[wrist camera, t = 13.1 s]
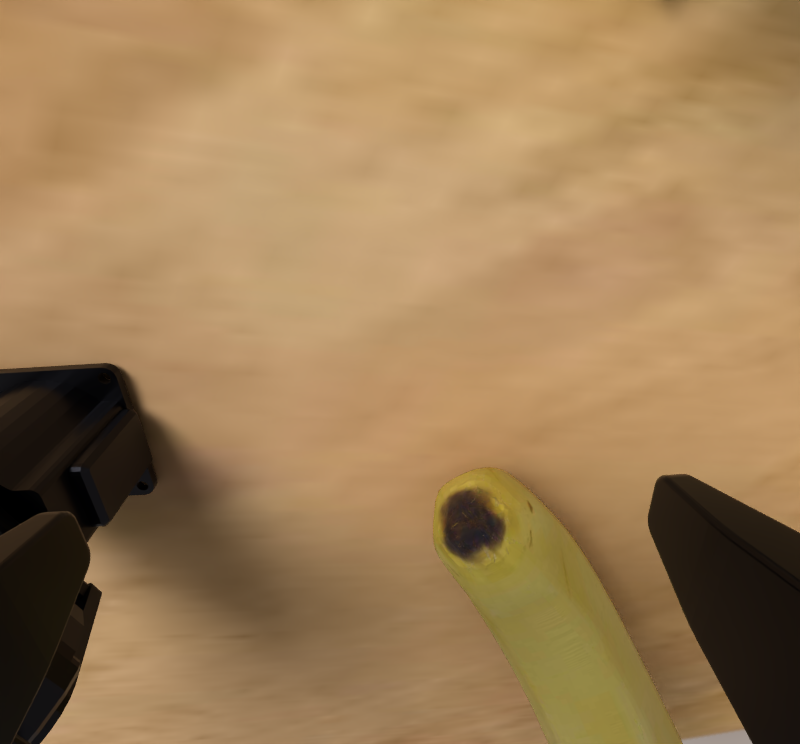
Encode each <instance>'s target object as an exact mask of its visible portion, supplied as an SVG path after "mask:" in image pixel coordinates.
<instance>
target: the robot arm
mask: <svg viewBox="0 0 800 744" xmlns="http://www.w3.org/2000/svg"><path fill="white" fill-rule="evenodd" d="M103 373H106V374H108V375H109V376H110V378H111V380H110V379H107V378H105V377H104V375H103ZM151 461H152V455H151V452H150V449H149V446H148V443H147V440H146V437H145V434H144V431H143V428H142V425H141V422H140V419H139V416H138V414H137V413H136V412H135V411H134V409H133V406H132V403H131V401H130V398H129V395H128V392H127V389H126V386H125V383H124V380H123V377H122V374H121V372H120V370H119V369H118V368H117V367H116V366H114V365H112V364H108V363H101V364H84V365H68V366H51V367H34V368H17V369H0V744H40V743H41V742H42V740H43V739H44V738H45V737H46V735H47V734H48V733H49V732H50V730H51V729H52V727H53V726H54V724H55V723H56V722H57V720H58V719H59V717H60V716H61V714H62V712H63V711H64V709H65V707H66V705H67V703H68V701H69V700H70V698H71V695H72V693H73V690H74V687H75V685H76V682H77V678H78V675H79V671H80V668H81V664H82V661H83V657H84V654H85V650H86V647H87V644H88V640H89V637H90V633H91V630H92V626H93V623H94V619H95V616H96V612H97V609H98V605H99V602H100V599H101V595H102V592H101V591H100V590H99V589H97V588H96V587H95V586H94V585H93V584H92V583H89V584H87V583H86V582H85V581H84V578H85V575H86V573H87V570H88V567H89V564H90V549H89V547H88V544H87V542H88V541H89V539H90V538H91V536H92V535H93V533H94V532H95V531H96V529H97V528H98V527H102V526H106V525H108V524H109V522H110V521H111V520H112V519H113V517H114V516H115V514H116V513H117V511H118V510H119V508H120V507H121V505H122V504H123V502H124V501H125V500H126V498H127V497H128V496H129V495H145V494H150V493H151V492H152V491H153V490H154V488H155V487H156V485H157V478H156V475H155V472H154V469H153V466H152V463H151ZM141 481H142V482H145V483H147V484H148V485H146V484H143V483H142V482H141ZM648 526H649V530H650V533H651V535H652V538H653V540H654V543H655V545H656V547H657V550H658V552H659V555H660V557H661V559H662V562H663V564H664V567H665V569H666V571H667V574H668V576H669V579H670V581H671V583H672V586H673V588H674V591H675V593H676V595H677V598H678V600H679V603H680V605H681V607H682V610H683V612H684V614H685V617H686V619H687V621H688V623H689V625H690V628H691V629H692V631H693V633H694V635H695V637H696V639H697V641H698V643H699V645H700V647H701V649H702V651H703V652H704V654H705V656H706V658H707V660H708V662H709V664H710V665H711V667H712V669H713V671H714V673H715V675H716V677H717V678H718V680H719V682H720V684H721V686H722V688H723V690H724V691H725V693H726V695H727V697H728V699H729V701H730V703H731V704H732V706H733V708H734V710H735V712H736V714H737V716H738V717H739V719H740V721H741V723H742V725H743V727H744V729H745V730H746V732H747V734H748V736H749V738H750V740H751V741H752V743H753V744H800V533H799V532H797V531H795V530H793V529H791V528H790V527H788V526H786V525H784V524H782V523H780V522H778V521H776V520H774V519H772V518H770V517H769V516H767V515H765V514H763V513H761V512H759V511H757V510H755V509H753V508H751V507H749V506H748V505H746V504H744V503H742V502H740V501H738V500H736V499H734V498H732V497H730V496H728V495H727V494H725V493H723V492H721V491H719V490H717V489H715V488H713V487H711V486H709V485H707V484H705V483H704V482H702V481H700V480H698V479H696V478H694V477H692V476H690V475H687V474H676V475H663V476H661V477H659V478H658V479H657V481H656V483H655V487H654V491H653V496H652V500H651V505H650V509H649V514H648Z"/></svg>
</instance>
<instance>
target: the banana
mask: <svg viewBox="0 0 800 744" xmlns="http://www.w3.org/2000/svg"><path fill="white" fill-rule="evenodd" d="M433 539H434V546H435V550H436V552H437V554H438V556H439V558H440V559H441V560H442V562H443V563H444V565H445V566H446V568H447V569H448V570H449V572H450V573H451V574H452V575H453V577H454V578H455V579H456V581H457V582H458V583H459V584H460V586H461V587H462V588H463V589H464V591H465V592H466V593H467V595H468V596H469V598H470V599H471V601H472V602H473V604H474V606H475V607H476V609H477V610H478V612H479V613H480V615H481V616H482V618H483V619H484V621H485V623H486V624H487V626H488V628H489V629H490V631H491V633H492V634H493V636H494V637H495V639H496V641H497V642H498V644H499V646H500V648H501V649H502V651H503V653H504V655H505V656H506V658H507V660H508V662H509V663H510V665H511V667H512V669H513V671H514V672H515V674H516V676H517V678H518V680H519V682H520V684H521V686H522V688H523V690H524V692H525V694H526V696H527V698H528V700H529V702H530V704H531V706H532V708H533V710H534V712H535V714H536V717H537V719H538V721H539V723H540V726H541V728H542V730H543V732H544V734H545V737H546V739H547V741H548V743H549V744H683V743H682V741H681V739H680V737H679V735H678V733H677V731H676V728H675V726H674V724H673V722H672V720H671V718H670V716H669V714H668V712H667V710H666V708H665V706H664V704H663V702H662V700H661V698H660V696H659V694H658V692H657V690H656V688H655V686H654V684H653V682H652V680H651V678H650V676H649V674H648V672H647V670H646V668H645V666H644V664H643V662H642V660H641V658H640V656H639V654H638V652H637V650H636V648H635V646H634V644H633V642H632V640H631V638H630V636H629V634H628V633H627V631H626V629H625V627H624V625H623V623H622V621H621V619H620V617H619V615H618V613H617V611H616V609H615V607H614V605H613V604H612V602H611V600H610V598H609V596H608V595H607V593H606V591H605V589H604V587H603V585H602V584H601V582H600V580H599V578H598V577H597V575H596V573H595V571H594V570H593V568H592V566H591V564H590V563H589V561H588V560H587V558H586V557H585V555H584V554H583V552H582V551H581V549H580V547H579V546H578V545H577V543H576V542H575V540H574V539H573V538H572V536H571V535H570V534H569V532H568V531H567V529H566V528H565V527H564V526H563V525H562V524H561V522H560V521H559V520H558V519H557V518H556V517H555V516H554V515H553V514H552V512H551V511H550V510H549V509H548V508H547V507H546V506H545V505H544V504H543V503H542V502H541V501H540V500H539V499H538V498H537V497H536V496H535V495H534V494H533V493H532V492H531V491H530V490H529V489H528V488H526V487H525V486H524V485H523V484H522V483H521V482H519V481H518V480H517V479H516V478H514V477H513V476H512V475H510V474H509V473H507V472H506V471H504V470H501V469H498V468H480V469H475V470H472V471H469V472H466V473H464V474H462V475H460V476H458V477H456V478H454V479H452V480H451V481H449V482H447V483H446V484H445V485H444V486H443V487H442V488H441V489H440V491H439V492H438V495H437V498H436V501H435V510H434V521H433Z"/></svg>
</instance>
